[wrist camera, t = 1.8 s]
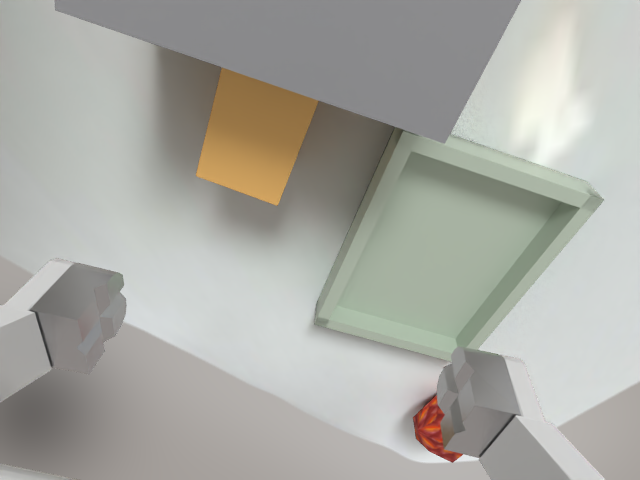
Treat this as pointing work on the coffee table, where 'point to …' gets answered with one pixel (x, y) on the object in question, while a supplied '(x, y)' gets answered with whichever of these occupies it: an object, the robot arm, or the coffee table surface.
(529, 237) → the tray
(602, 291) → the coffee table surface
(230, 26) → the block
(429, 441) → the red bumpy oval lump
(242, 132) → the orange rectangular block
